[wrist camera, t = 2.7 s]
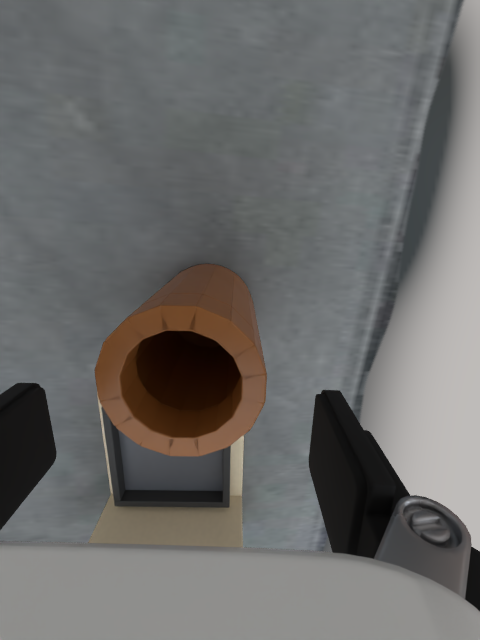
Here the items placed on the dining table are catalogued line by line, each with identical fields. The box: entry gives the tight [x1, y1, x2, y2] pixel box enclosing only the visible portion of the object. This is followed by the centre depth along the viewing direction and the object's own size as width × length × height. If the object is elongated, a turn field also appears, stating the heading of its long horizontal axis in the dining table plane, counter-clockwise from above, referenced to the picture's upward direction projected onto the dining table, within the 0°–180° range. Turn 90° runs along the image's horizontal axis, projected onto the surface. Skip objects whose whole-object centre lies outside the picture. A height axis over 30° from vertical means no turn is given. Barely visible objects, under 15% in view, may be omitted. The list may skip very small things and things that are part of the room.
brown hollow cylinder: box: [95, 264, 267, 457], centre depth 18 cm, size 7×7×12 cm
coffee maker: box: [88, 393, 244, 547], centre depth 16 cm, size 16×12×24 cm
